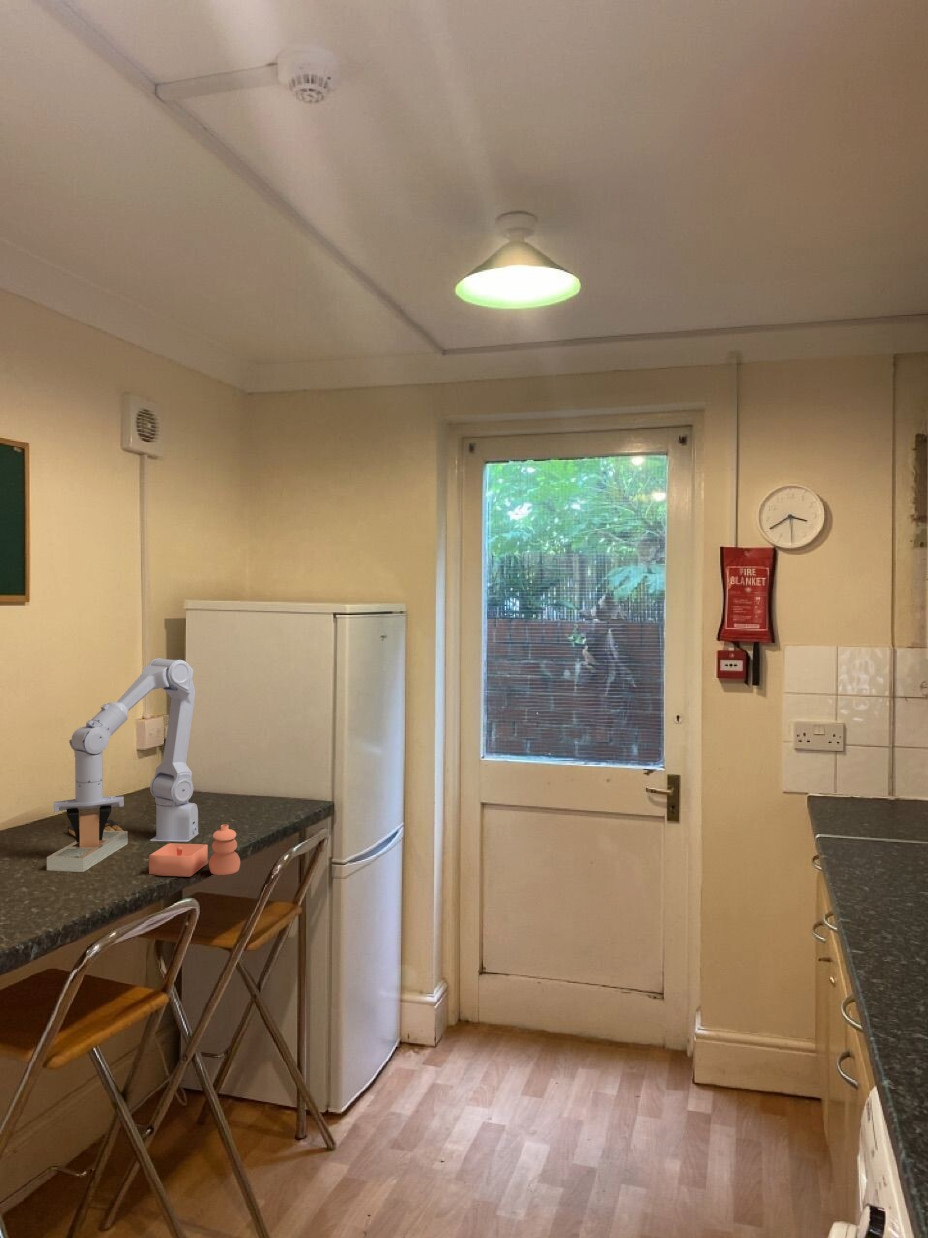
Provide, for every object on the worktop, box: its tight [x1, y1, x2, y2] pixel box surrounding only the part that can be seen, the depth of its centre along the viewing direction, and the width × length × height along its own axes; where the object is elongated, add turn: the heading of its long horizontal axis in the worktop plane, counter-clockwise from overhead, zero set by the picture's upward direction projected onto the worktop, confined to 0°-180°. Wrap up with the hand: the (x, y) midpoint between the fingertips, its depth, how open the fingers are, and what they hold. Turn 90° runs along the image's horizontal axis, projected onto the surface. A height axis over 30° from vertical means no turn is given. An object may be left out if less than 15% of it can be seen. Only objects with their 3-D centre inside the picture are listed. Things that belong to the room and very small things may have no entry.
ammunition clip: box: [67, 819, 124, 839], centre depth 221 cm, size 11×2×12 cm
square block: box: [79, 810, 100, 847], centre depth 203 cm, size 4×4×9 cm
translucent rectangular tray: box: [46, 830, 129, 873], centre depth 203 cm, size 22×8×3 cm, turn 177°
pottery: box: [148, 824, 241, 877], centre depth 195 cm, size 18×10×10 cm, turn 84°
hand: (89, 840), depth 203 cm, fingers closed on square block, 4 cm apart
